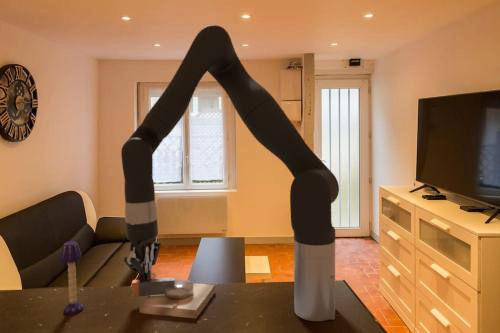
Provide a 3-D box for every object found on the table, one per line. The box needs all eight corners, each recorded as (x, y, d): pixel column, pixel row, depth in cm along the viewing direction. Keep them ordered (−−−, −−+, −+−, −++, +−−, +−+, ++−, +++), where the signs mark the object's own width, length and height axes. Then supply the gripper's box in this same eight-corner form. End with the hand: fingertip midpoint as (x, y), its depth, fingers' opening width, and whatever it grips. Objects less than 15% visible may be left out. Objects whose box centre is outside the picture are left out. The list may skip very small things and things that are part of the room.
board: (215, 292, 99) (214, 283, 99) (196, 318, 86) (195, 308, 85) (165, 288, 102) (165, 279, 102) (139, 312, 89) (139, 303, 88)
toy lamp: (89, 307, 92) (85, 240, 90) (76, 316, 87) (71, 246, 86) (72, 305, 93) (68, 239, 91) (58, 314, 89) (53, 245, 87)
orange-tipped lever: (193, 286, 98) (193, 272, 97) (193, 298, 91) (192, 283, 90) (135, 290, 96) (134, 276, 95) (130, 302, 89) (129, 287, 88)
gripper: (143, 211, 101) (147, 273, 103) (111, 224, 88) (116, 295, 90) (168, 212, 98) (172, 276, 101) (138, 226, 86) (143, 299, 88)
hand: (145, 285), depth 95 cm, fingers closed
